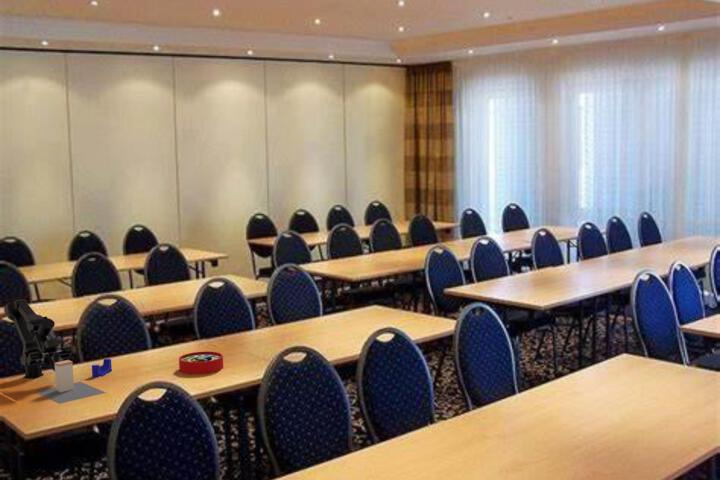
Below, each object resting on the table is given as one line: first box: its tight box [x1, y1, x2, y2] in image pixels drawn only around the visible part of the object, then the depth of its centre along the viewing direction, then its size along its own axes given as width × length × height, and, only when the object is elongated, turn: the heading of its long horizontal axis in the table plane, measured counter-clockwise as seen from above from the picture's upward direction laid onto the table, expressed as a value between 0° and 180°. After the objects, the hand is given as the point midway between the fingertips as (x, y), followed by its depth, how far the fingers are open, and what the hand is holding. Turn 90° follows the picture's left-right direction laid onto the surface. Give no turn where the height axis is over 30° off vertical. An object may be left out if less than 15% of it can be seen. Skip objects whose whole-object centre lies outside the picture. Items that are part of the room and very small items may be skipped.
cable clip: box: [91, 358, 113, 378], centre depth 370 cm, size 12×4×6 cm, turn 169°
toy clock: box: [178, 350, 224, 375], centre depth 376 cm, size 20×6×20 cm
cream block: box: [54, 359, 75, 392], centre depth 344 cm, size 4×6×12 cm, turn 134°
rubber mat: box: [35, 381, 107, 405], centre depth 341 cm, size 24×20×1 cm
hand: (56, 371), depth 350 cm, fingers closed
